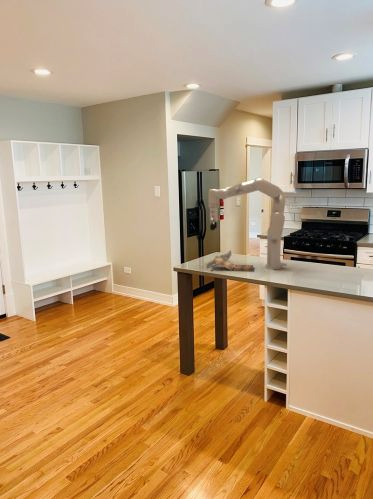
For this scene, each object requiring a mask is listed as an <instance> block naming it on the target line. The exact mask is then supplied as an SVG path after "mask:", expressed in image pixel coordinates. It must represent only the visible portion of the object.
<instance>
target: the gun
mask: <svg viewBox="0 0 373 499" xmlns="http://www.w3.org/2000/svg"><path fill="white" fill-rule="evenodd" d="M218 257H220V258H222V259H224V260H226V261H228V262H229V260H230V258H231V257H232V250H228V251H227V252H226V253H223V254H221V255H219V256H218ZM213 260H214V259H212V260H210V261H208V262H207V263H206V264H205V266H206V268H207V269H209V268H210V267H213V265H216V264H217V263H216V262H214V261H213Z"/></svg>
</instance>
